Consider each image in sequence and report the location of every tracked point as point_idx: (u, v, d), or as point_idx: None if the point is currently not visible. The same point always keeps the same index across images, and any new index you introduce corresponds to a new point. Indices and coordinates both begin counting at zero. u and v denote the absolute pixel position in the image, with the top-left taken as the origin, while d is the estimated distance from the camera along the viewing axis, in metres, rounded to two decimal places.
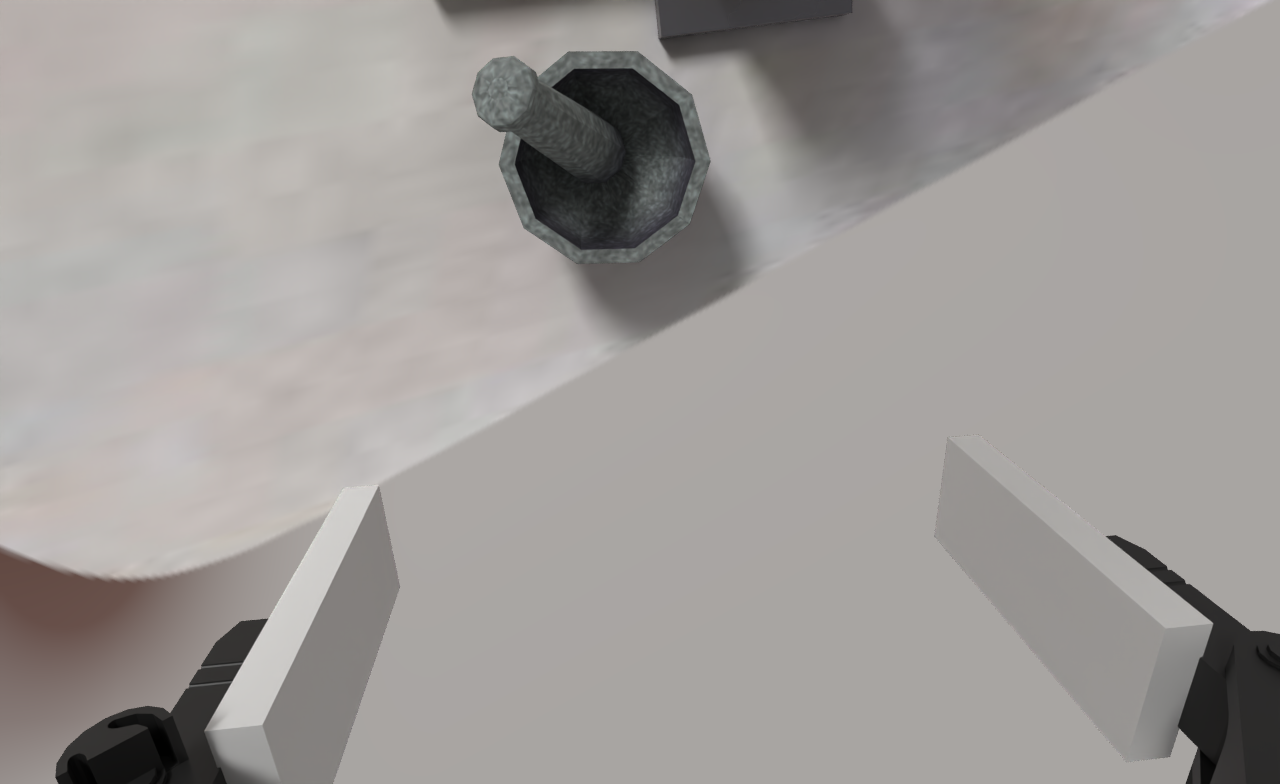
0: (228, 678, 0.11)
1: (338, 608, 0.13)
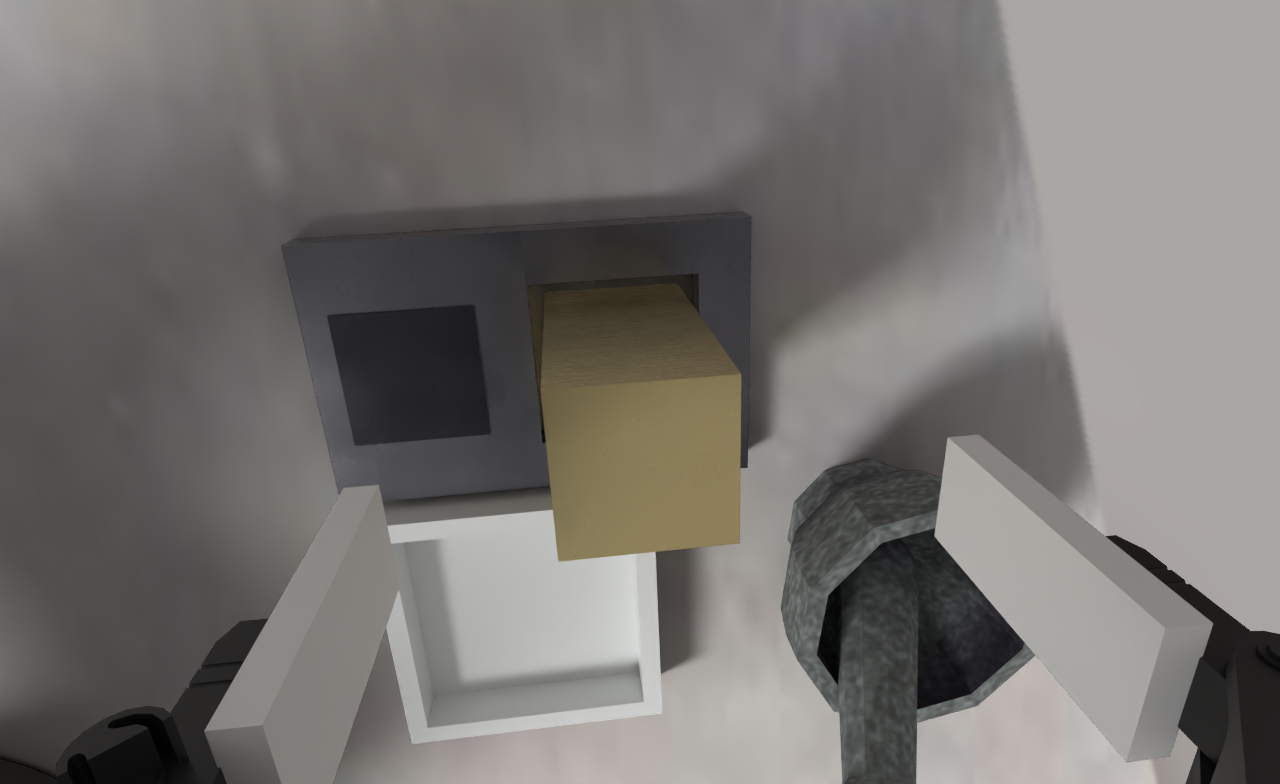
0: (228, 678, 0.11)
1: (339, 608, 0.13)
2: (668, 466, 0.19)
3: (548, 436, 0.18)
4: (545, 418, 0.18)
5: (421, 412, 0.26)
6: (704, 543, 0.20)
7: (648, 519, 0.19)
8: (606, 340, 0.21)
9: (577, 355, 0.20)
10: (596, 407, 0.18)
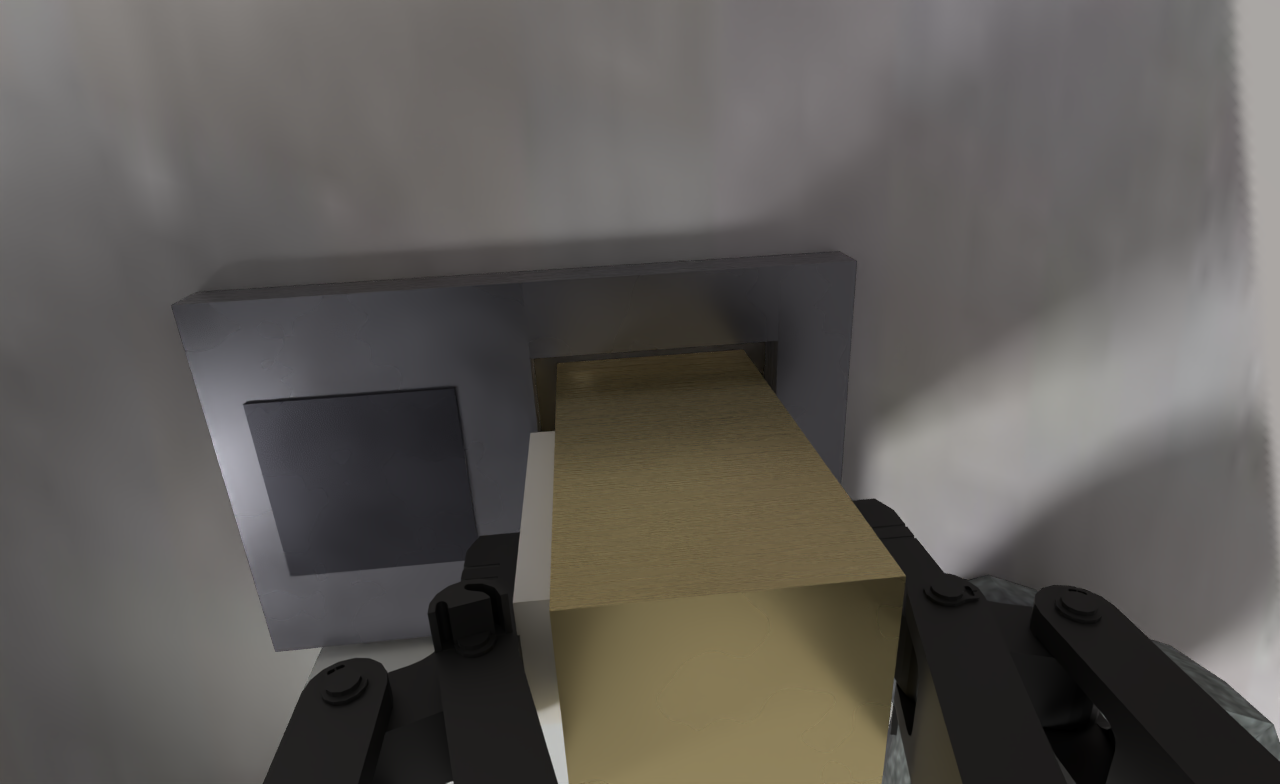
0: (492, 575, 0.13)
1: None
2: (768, 718, 0.11)
3: (562, 682, 0.10)
4: (557, 654, 0.10)
5: (382, 531, 0.19)
6: None
7: None
8: (654, 473, 0.13)
9: (611, 511, 0.12)
10: (649, 635, 0.10)
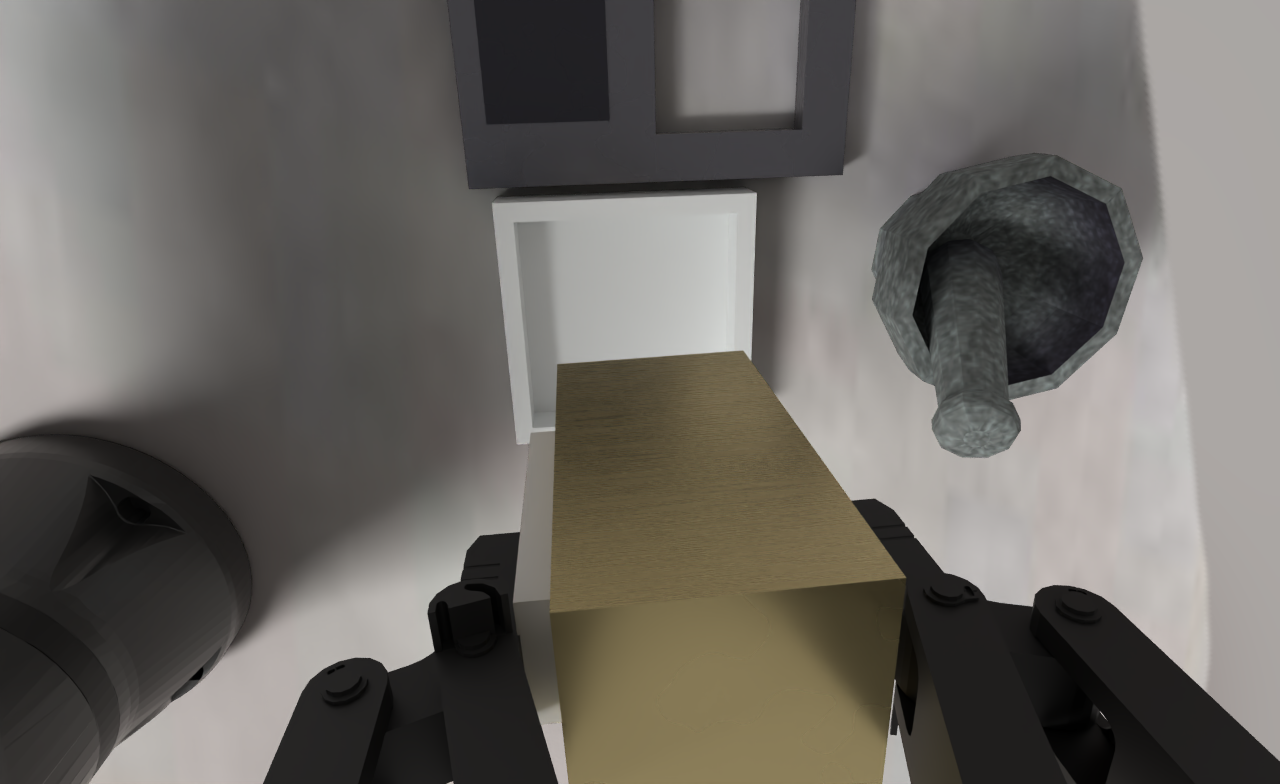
0: (492, 575, 0.13)
1: None
2: (768, 720, 0.11)
3: (563, 684, 0.10)
4: (557, 656, 0.10)
5: (549, 92, 0.29)
6: None
7: None
8: (654, 474, 0.13)
9: (611, 512, 0.12)
10: (649, 636, 0.10)
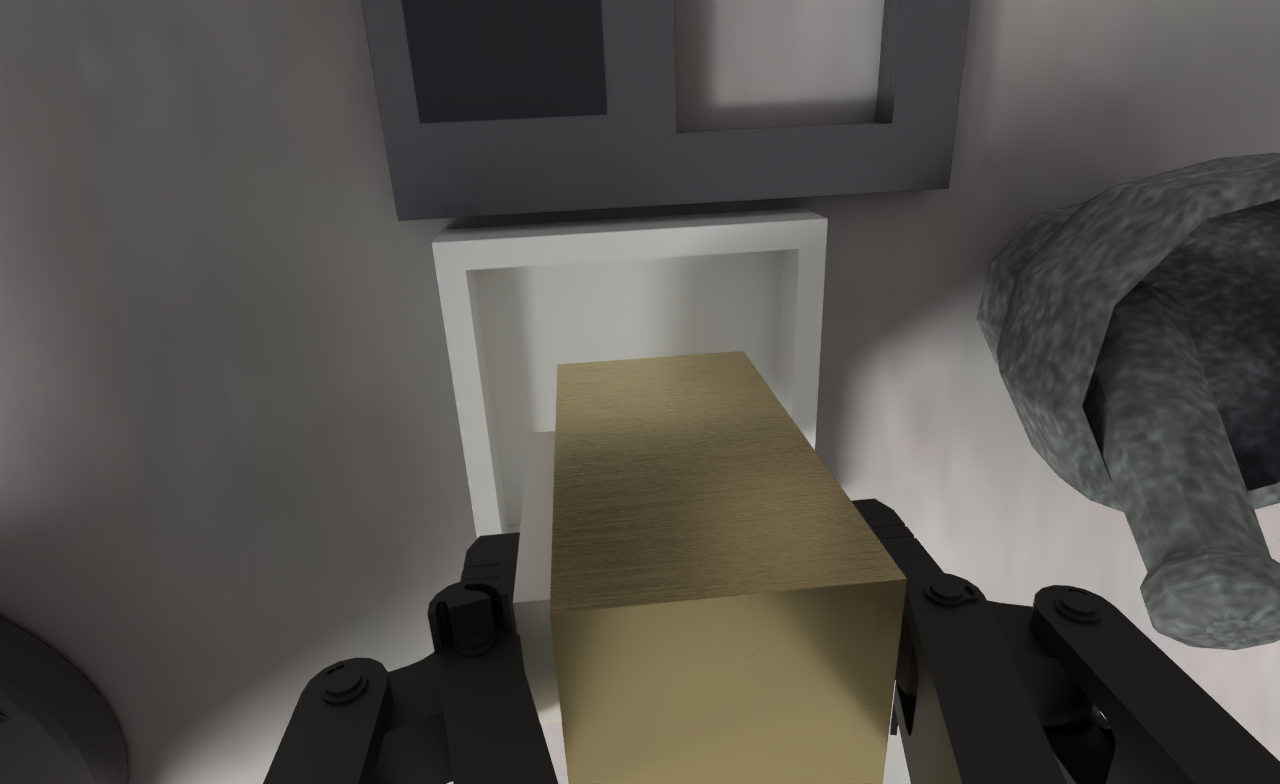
0: (492, 575, 0.13)
1: None
2: (768, 721, 0.11)
3: (563, 685, 0.10)
4: (558, 657, 0.10)
5: (514, 72, 0.19)
6: None
7: None
8: (654, 476, 0.13)
9: (611, 513, 0.12)
10: (649, 637, 0.10)
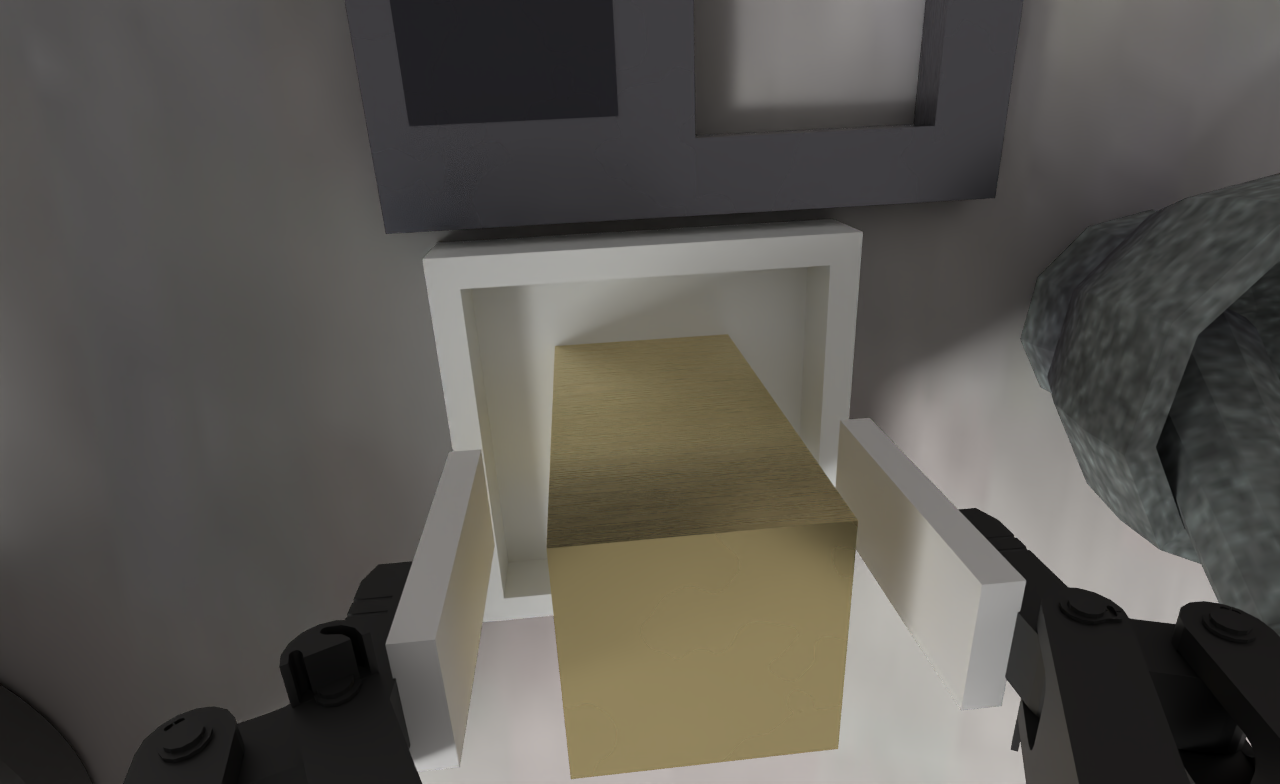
0: (381, 609, 0.13)
1: (466, 553, 0.14)
2: (739, 650, 0.12)
3: (558, 613, 0.12)
4: (553, 588, 0.11)
5: (514, 69, 0.17)
6: (786, 747, 0.13)
7: (706, 721, 0.13)
8: (641, 439, 0.15)
9: (601, 470, 0.13)
10: (633, 571, 0.11)
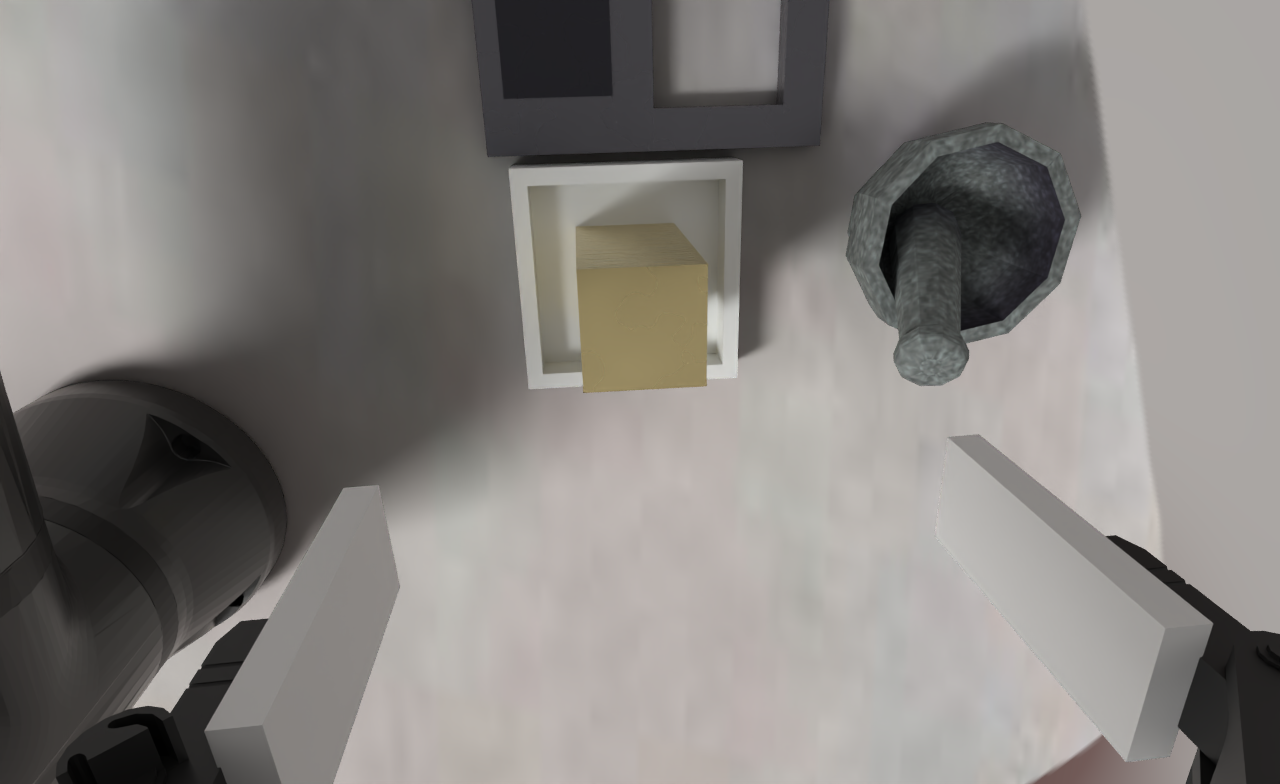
0: (228, 678, 0.11)
1: (339, 608, 0.13)
2: (658, 327, 0.28)
3: (580, 301, 0.27)
4: (578, 289, 0.27)
5: (559, 70, 0.33)
6: (682, 386, 0.29)
7: (645, 365, 0.29)
8: (619, 249, 0.30)
9: (600, 255, 0.29)
10: (612, 283, 0.27)
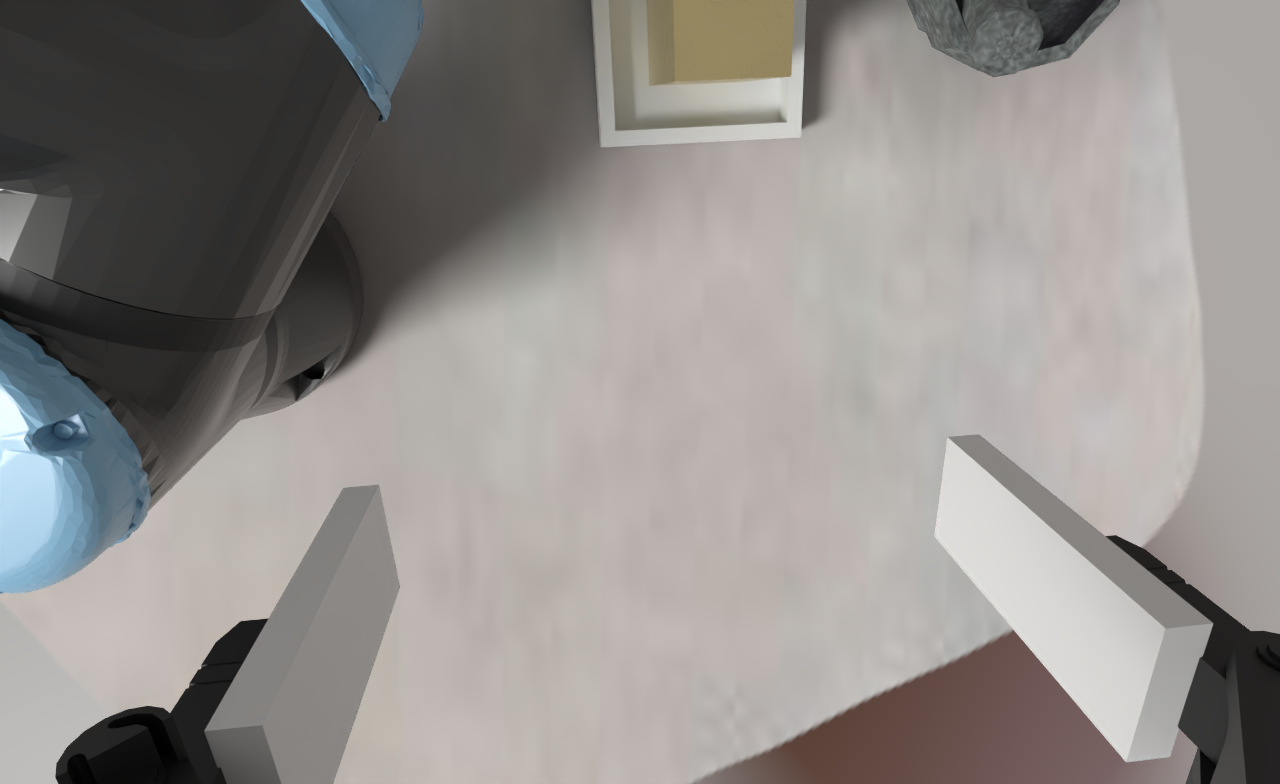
0: (228, 678, 0.11)
1: (339, 608, 0.13)
2: (748, 9, 0.29)
3: None
4: None
5: None
6: (768, 77, 0.31)
7: (734, 51, 0.30)
8: None
9: None
10: None
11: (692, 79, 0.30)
